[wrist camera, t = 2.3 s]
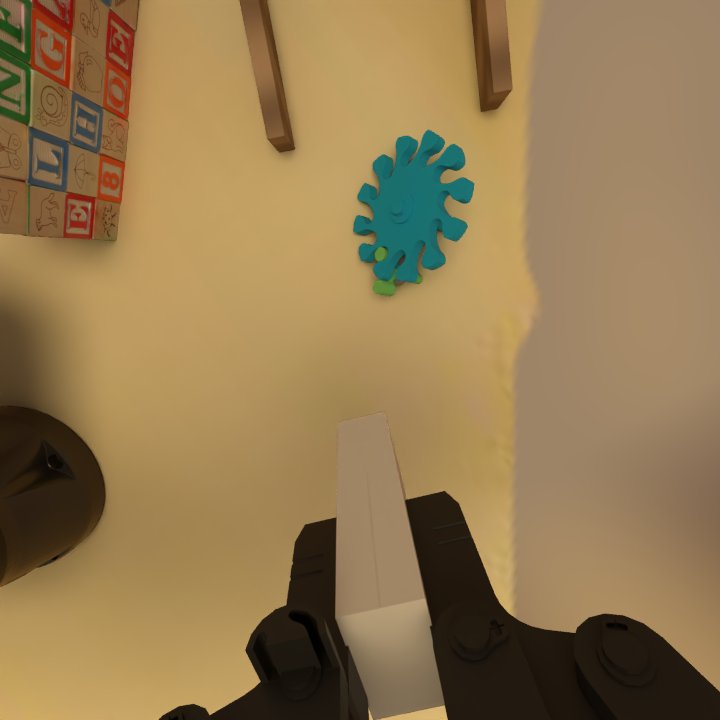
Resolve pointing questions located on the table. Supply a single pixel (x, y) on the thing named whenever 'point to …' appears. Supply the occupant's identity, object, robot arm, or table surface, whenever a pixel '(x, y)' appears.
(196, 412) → the table surface
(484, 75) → the wooden u-shaped enclosure
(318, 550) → the robot arm
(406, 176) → the gear
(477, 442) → the table surface
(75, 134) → the stack of blocks
